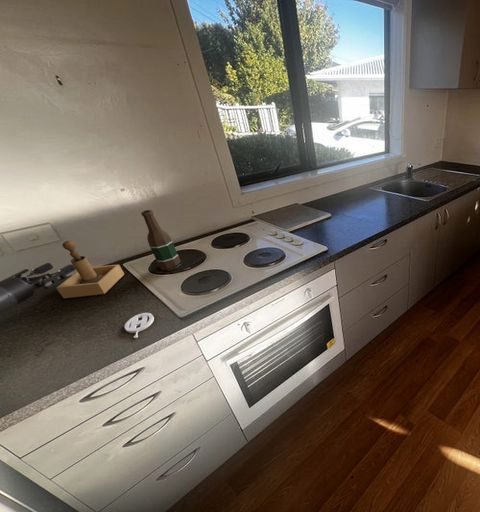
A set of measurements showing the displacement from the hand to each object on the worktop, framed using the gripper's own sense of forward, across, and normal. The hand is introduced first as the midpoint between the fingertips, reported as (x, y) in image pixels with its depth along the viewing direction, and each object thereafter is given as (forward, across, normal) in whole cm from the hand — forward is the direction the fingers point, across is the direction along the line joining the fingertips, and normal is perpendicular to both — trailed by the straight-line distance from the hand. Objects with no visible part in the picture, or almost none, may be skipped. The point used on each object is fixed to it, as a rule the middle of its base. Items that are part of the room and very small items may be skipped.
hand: (62, 265), depth 96 cm
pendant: (-12, -34, +12) cm, 38 cm away
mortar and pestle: (+5, 0, +12) cm, 13 cm away
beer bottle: (+20, -18, +12) cm, 30 cm away
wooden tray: (+5, 0, +12) cm, 13 cm away
